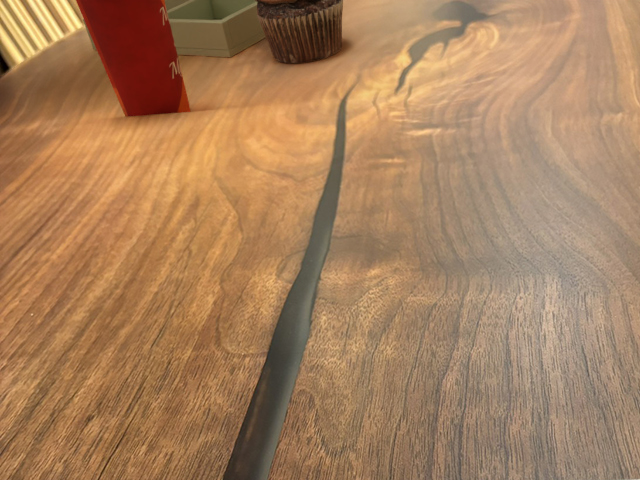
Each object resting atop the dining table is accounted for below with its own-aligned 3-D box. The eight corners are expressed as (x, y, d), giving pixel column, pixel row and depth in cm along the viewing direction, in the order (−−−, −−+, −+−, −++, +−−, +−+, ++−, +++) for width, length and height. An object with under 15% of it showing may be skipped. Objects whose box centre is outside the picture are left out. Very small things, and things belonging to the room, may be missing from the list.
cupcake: (252, 67, 80) (229, -34, 74) (286, 38, 87) (267, -56, 80) (332, 65, 77) (315, -40, 71) (360, 35, 84) (347, -63, 77)
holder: (230, 57, 84) (221, 22, 81) (93, 50, 94) (82, 19, 92) (288, 24, 91) (281, -9, 89) (155, 21, 101) (146, -9, 99)
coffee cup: (219, 113, 70) (171, -62, 61) (149, 146, 66) (85, -36, 57) (171, 100, 75) (119, -65, 65) (103, 130, 71) (37, -41, 61)
